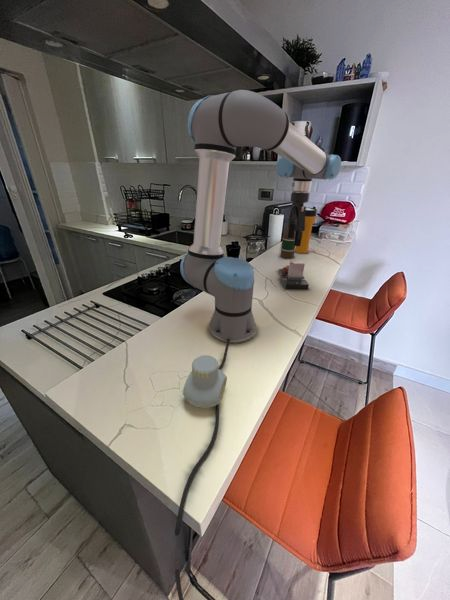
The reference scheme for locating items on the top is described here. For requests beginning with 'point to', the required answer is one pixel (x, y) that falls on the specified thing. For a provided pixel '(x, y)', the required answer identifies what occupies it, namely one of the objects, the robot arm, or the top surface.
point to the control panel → (294, 283)
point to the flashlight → (307, 230)
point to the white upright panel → (295, 270)
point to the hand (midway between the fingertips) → (293, 241)
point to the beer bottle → (287, 245)
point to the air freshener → (205, 383)
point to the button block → (283, 271)
